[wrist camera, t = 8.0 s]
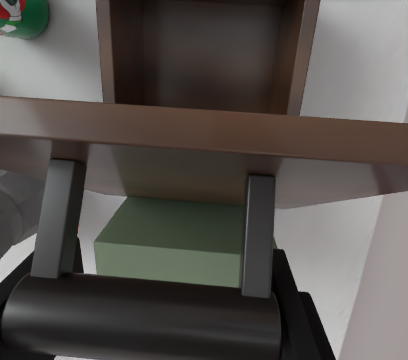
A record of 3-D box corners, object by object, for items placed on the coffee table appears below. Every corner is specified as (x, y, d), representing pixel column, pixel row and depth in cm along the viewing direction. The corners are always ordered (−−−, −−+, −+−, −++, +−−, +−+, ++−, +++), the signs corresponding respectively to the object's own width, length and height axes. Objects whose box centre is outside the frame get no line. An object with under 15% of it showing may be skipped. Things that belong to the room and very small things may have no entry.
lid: (-192, 81, 5) (-284, 384, 5) (520, 129, 5) (549, 479, 4) (107, 184, 21) (97, 257, 20) (285, 198, 20) (282, 274, 20)
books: (150, 166, 29) (93, 241, 16) (254, 174, 29) (280, 258, 16) (151, 208, 31) (99, 306, 18) (249, 216, 31) (268, 322, 18)
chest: (134, -12, 24) (91, -53, 16) (292, -4, 23) (328, -42, 15) (139, 155, 29) (109, 187, 21) (267, 165, 28) (284, 201, 21)
